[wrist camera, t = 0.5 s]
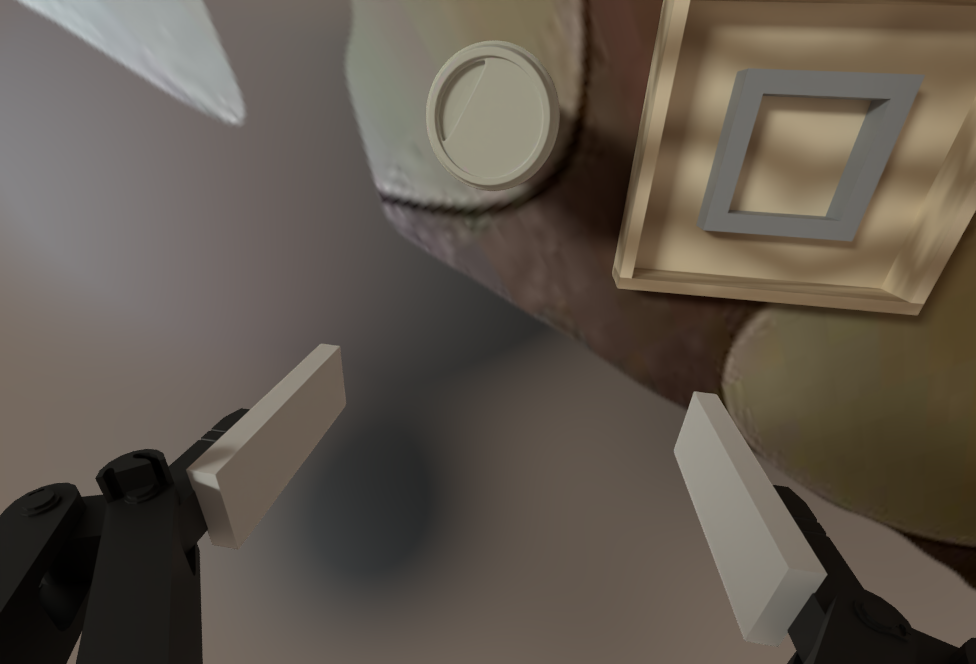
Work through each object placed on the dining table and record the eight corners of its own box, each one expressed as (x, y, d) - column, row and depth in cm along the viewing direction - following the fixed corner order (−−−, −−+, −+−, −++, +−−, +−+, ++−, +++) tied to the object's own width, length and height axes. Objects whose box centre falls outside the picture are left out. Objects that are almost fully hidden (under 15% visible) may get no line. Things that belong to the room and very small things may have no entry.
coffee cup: (533, 42, 33) (525, 0, 22) (572, 148, 36) (581, 157, 25) (440, 96, 35) (393, 82, 25) (484, 192, 38) (458, 216, 28)
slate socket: (737, 71, 31) (748, 68, 30) (903, 77, 30) (925, 74, 28) (696, 225, 37) (703, 230, 35) (836, 235, 35) (852, 241, 34)
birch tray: (666, -16, 30) (681, -35, 27) (1037, -9, 28) (1107, -29, 24) (611, 274, 40) (617, 288, 36) (883, 297, 38) (917, 315, 34)
